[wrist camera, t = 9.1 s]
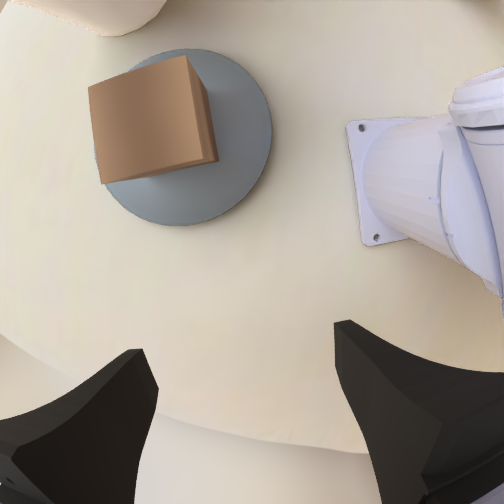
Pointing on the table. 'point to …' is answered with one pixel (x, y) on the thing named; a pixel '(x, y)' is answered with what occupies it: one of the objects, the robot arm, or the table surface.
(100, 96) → the block
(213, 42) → the table surface
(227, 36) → the table surface
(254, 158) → the dish
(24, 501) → the robot arm
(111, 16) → the foam cup
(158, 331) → the table surface
